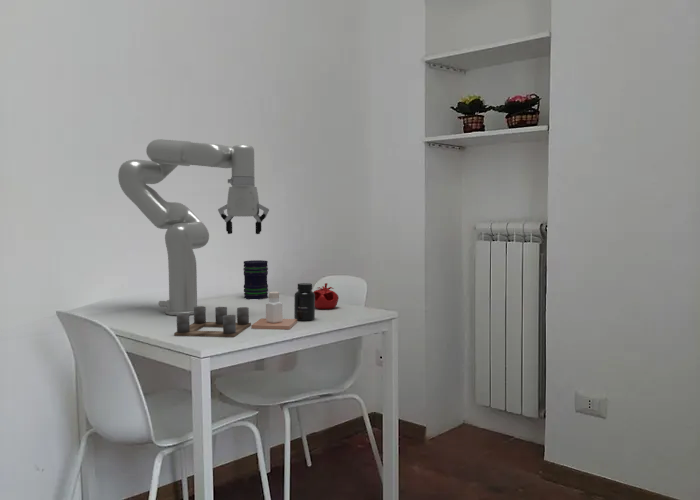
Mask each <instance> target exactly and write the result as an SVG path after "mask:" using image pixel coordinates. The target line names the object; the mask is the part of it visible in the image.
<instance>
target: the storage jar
mask: <svg viewBox="0 0 700 500" xmlns="http://www.w3.org/2000/svg"><path fill="white" fill-rule="evenodd" d="M268 263H269V262H268V260H263V259H262V260H259V259H257V260H256V259H255V260H254V259H253V260H252V259H251V260H243V269H242V270H243V277H244V279H243V280H244V284H243V295H244V296H243V299H244V298H246V299H245V300H250V299H258V300H266V299H269V284H268V272H269V267H268Z"/></svg>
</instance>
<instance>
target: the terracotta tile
mask: <svg viewBox="0 0 700 500" xmlns="http://www.w3.org/2000/svg"><path fill="white" fill-rule="evenodd" d="M297 323H298V321H297V319H295V318H282V322H278V323H270V322H266V317H264V318H263V317H262V318H260V319H258V320H256V321H255V322H254V323H252V324H251V326H250V327H251V330H252V329H253V330H254V329H255V330H256V329H258V330H262V329H263V330H291V329H292V328H293V327H294V326H295V325H296V324H297Z"/></svg>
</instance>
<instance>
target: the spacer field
mask: <svg viewBox="0 0 700 500" xmlns="http://www.w3.org/2000/svg"><path fill="white" fill-rule="evenodd" d="M214 309H215V313H214V314H215V317H214V318H215V321H207V319H206V318H207V317H206V316H207V315H206V310H207V309H206V306H203V305H202V306H201V305H200V306H198V305H197V307H194V314H193V323H190V315H189V314H178V315H176V331H175V332H174V334H173V335H174V336H175V337H178V336H179V337H212V338H213V337H214V338H217V337H218V338H235V337H236V336H238V335H240V334H241V333H243V332H244V331H245V330H246V329H248V328H249V327H251V325H252V323H251V322H249V321H250V320H249V319H250V318H249V317H250V315H249V313H250V312H249V311H250V308H249V307H247V306H241V307H236V315H235V314H228V307H227V306H216V307H215V308H214ZM207 327H208V328H222V330H219V331H218V330H201V329H203V328H207Z"/></svg>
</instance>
